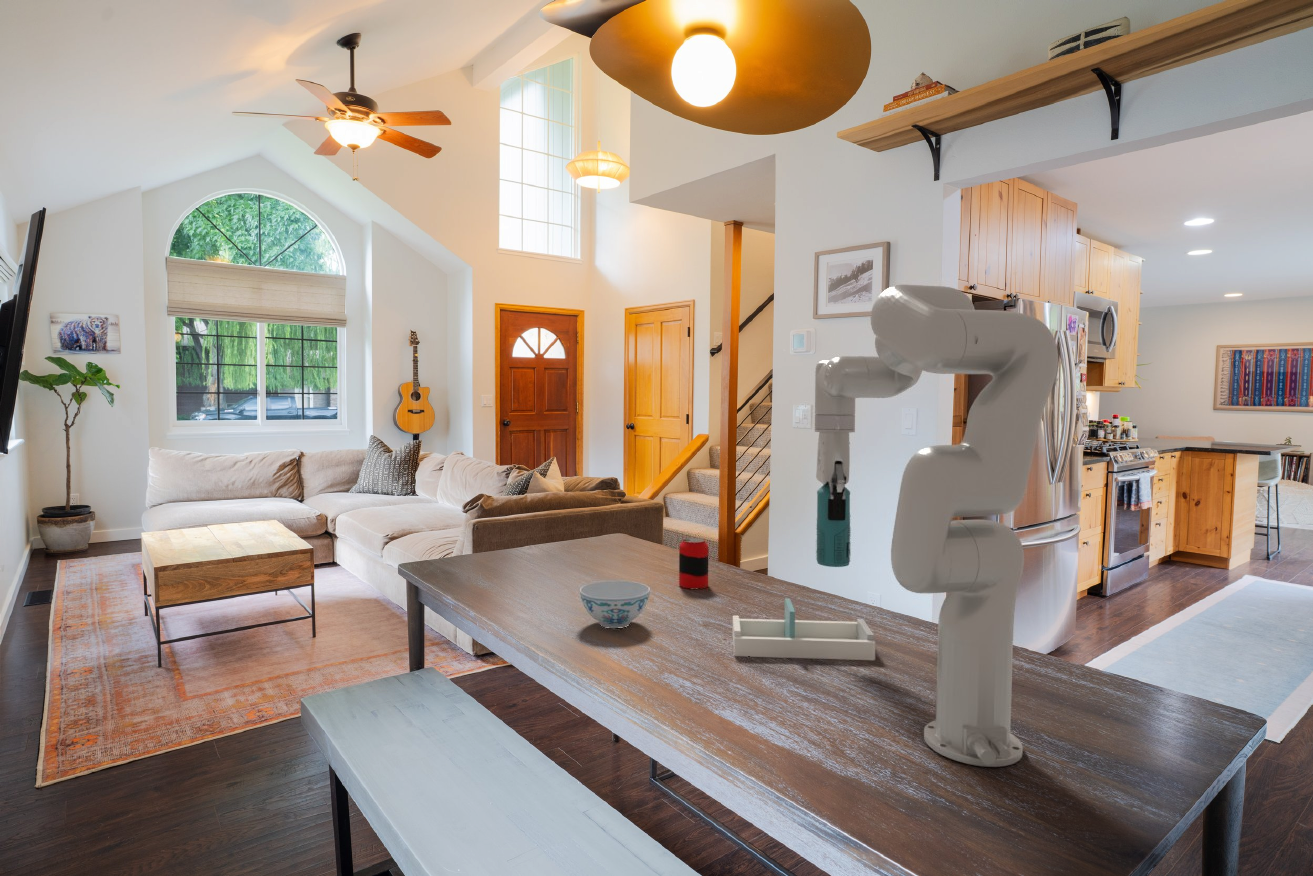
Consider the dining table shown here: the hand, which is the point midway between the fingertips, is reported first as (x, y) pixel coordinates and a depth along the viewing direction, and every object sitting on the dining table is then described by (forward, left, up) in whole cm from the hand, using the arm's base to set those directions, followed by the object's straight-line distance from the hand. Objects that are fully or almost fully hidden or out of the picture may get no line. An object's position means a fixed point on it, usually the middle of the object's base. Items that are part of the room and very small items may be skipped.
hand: (833, 516), depth 139 cm
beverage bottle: (0, 0, -11) cm, 11 cm away
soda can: (+45, +28, -26) cm, 59 cm away
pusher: (0, +8, -25) cm, 26 cm away
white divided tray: (0, +6, -26) cm, 27 cm away
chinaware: (+11, +44, -26) cm, 52 cm away
